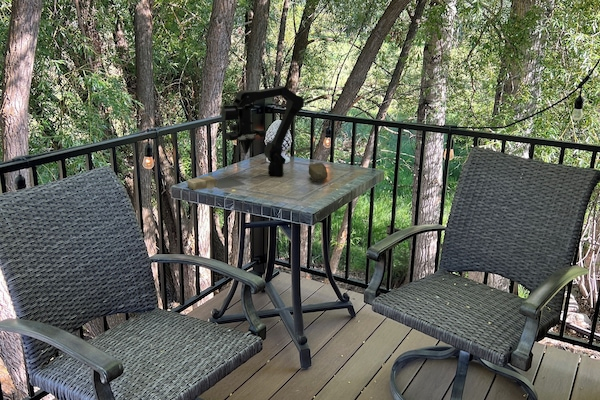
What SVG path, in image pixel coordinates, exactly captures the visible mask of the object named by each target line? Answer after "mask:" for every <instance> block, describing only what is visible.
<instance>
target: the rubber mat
mask: <svg viewBox="0 0 600 400" xmlns="http://www.w3.org/2000/svg"><path fill="white" fill-rule="evenodd" d="M216 182H217V186H216V187H215V188H217V189H219V190H222V189H226V188H227V189H228V188H234V187H238V186H239V187H240V186H245V185H246V183H244V182H241V181H240V180H238V179H236V178H233V177H231V176H230V177H225V178H224V177H223V178H216Z"/></svg>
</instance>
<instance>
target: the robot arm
mask: <svg viewBox="0 0 600 400" xmlns="http://www.w3.org/2000/svg"><path fill="white" fill-rule="evenodd" d="M279 96H281V97H282V98H283V100H285V101H286V102H285V112H284V114H283V116H282V119H281V121H280V123H279V126H278V127H277V130H276V133H275V134H274V137H273V139H272V140H271V141H267V142H266V145H265V147H264V148H263V150H264V152H263V153H264V156H265V158H266V159H267V161H268V163H269V164H268V165H267V166H268V167H267V170H268V171H267V172H268V177H275V178H276V177H277V178H278V177H280V178H281V177H283V176H284V175H285V172H284V164H286V158H285V157H284V156H283V155H282V152H283V144H284V141H285V138H286V137H287V134H288V133H289V129H290V128H291V125H292V123H293V121H294V119H295V117H296V115H297V114H298V113H300V112H301V110H302V108H303V106H304V105H305V100H304V98H303V96H300V95H297V94H296V93H294V92H293V91H291V90H290V89H289V88H288V87H287V86H284V85H279V86H274V87H270V88H264V89H259V90H249V89H247V90H246V89H245V90H244V89H242V90H239V91H238V92H237V94H236V98H235V99H234V101H232V104H222V108H221V112H220V115H221V119H222V121H223V122H224V121H236V124H235V123H234V122H233V123H229V124H228V129H229V132H225V133H224V134H223V135H224V136H223V139H224V140H227V141H231V142H232V141H239V143H240V145H241V148H242V151H243V153H244V154H247V153H248V152H249V150H250V148H251V146H252V144H253V142H254V141H255V140H256V138H255V136H259V137H260V138H264V137H267V133H266V130H265V129H263V128H262V129H261V128H257V129H253V128H252V126H253V124H254V122H253V121H252V110H256V109H257V107H256V106H255V105H254V104H253V103H256V102H258V101H259V100H263V99H270V98H274V97H279ZM237 119H238V120H237Z"/></svg>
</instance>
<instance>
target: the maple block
mask: <svg viewBox="0 0 600 400" xmlns="http://www.w3.org/2000/svg"><path fill="white" fill-rule="evenodd" d="M216 180H217V178H215V177H214V176H211V175H208V176H207V175H206V176H202V177H197V178H191V179H187V181H186V182H187V188H188V187H189V189H190V188H191V189H190V190H192V189H193V190H192V191H197V190H196V189H199V190H204V189H211V188H217V187H216V186H217V182H216Z"/></svg>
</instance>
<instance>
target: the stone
mask: <svg viewBox="0 0 600 400" xmlns="http://www.w3.org/2000/svg"><path fill="white" fill-rule="evenodd" d="M308 174H309V176H310V179H312V180H313V181H314V182H315V181H316V182H319V181H320V182H321V181H324V180H327V179H328V169H327V167H326V165H325V164H324V163H323V162H315V163H311V164H309V165H308Z"/></svg>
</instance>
